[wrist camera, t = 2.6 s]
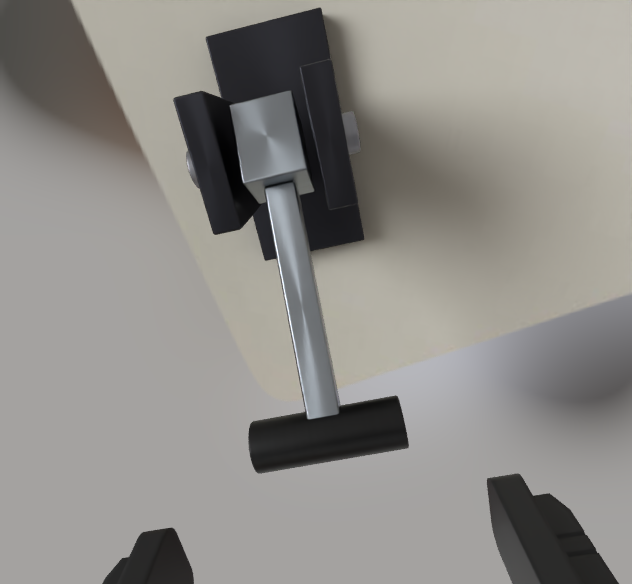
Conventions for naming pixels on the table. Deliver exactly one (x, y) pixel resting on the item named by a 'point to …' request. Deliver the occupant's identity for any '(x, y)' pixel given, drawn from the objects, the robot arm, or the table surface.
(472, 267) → the table surface
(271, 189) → the switch lever
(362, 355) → the table surface
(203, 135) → the bracket
